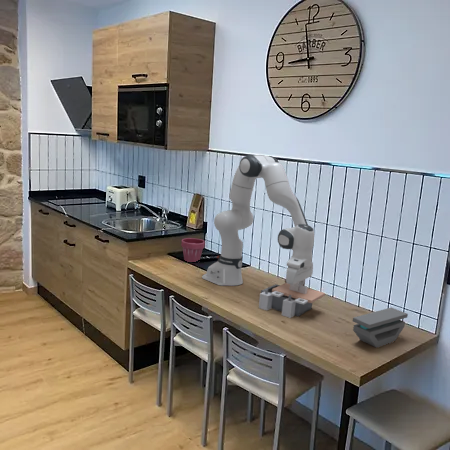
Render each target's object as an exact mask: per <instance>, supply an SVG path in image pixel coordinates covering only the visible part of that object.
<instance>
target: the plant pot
mask: <svg viewBox="0 0 450 450" xmlns="http://www.w3.org/2000/svg"><path fill="white" fill-rule="evenodd" d="M205 244H206V242H205V240H204V239H200V238H197V237H195V238H194V237H187V238H186V237H185V238H182V239H181V247H182V252H183V260H185V261H187V262H186V263H188V262H196V261H198V260H201V256H202V253H203V249H204V248H205ZM185 261H184V262H185Z"/></svg>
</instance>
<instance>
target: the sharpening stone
mask: <svg viewBox="0 0 450 450" xmlns="http://www.w3.org/2000/svg"><path fill="white" fill-rule="evenodd" d="M408 315H409V314H408V313H407V312H404V311H402V310H400V309H396V308H394V307H387V308H384V309H380V310H377V311H373V312H369V313H364V314H361V315H358V316H353V317H352V322H353V323H355V324H353V327H352V328H353V329H352V332H354V334H356V337H358V338H359V340H360V341H362V342H364V343H366V344H367V345H370V346H372V347H374V348H377V347H378V348H380V346H381V347H383V345H384V346H386V344H387V345H389V344H392V343H394V342H393V341H395V342H396V340H397V338H398V337H399V335H400V334H401V333H402V331H403V329H404V328H405V324H406V321H404V320H403V319H406V318H408V317H409V316H408ZM391 342H392V343H391ZM388 343H389V344H388Z"/></svg>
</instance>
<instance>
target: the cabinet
mask: <svg viewBox="0 0 450 450" xmlns="http://www.w3.org/2000/svg"><path fill="white" fill-rule="evenodd" d="M280 285H281V284H277V283H276V284H275V283H274V284H273V285H271V286H268V287H266V288H264V289H262V290H260V293H259V301H258V302H259V303H258V308H259V309H260V310H263V311H269V310H272V309H273V310H275V311H278V312H281V316H283V317H286V318H290V319H291V318H293V317H294V316H295V317H300V316H301V315H304V314H305V313H307V312H308V311H310V310H312V308H313V303H309V302H307V303H306V304H304V305H303V304H299V303H296V302H294V300H296V298H292V297H291V295H289V296H285V295H283V296H281V297H276V296H273V295H271V293H272V289H273V288H276V287H278V286H280ZM302 302H303V301H302Z"/></svg>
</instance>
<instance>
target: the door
mask: <svg viewBox="0 0 450 450" xmlns="http://www.w3.org/2000/svg"><path fill="white" fill-rule="evenodd" d="M279 285H280V286H278V287H276V288H273V289H272V293H271V295H273V296H276V297H281V296H283V295H285V296H289V295H291V297H292V298H296V300H294V302H296V303H299V304H303V305H304V304H306V303H307V302H309V303H312V304H313V303H315V302H316V301H318V300H320V299H321V298H323V297H325V296H326V293H325V292H322V291H318V290H315V289H312V288H309V287H308V286H306V285H305V286H303V285H299V290H298V291H295V290H294V287H295V286H294V285H291V284H288V283H285V282H284V283H283V284H279ZM302 301H303V302H302Z"/></svg>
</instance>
